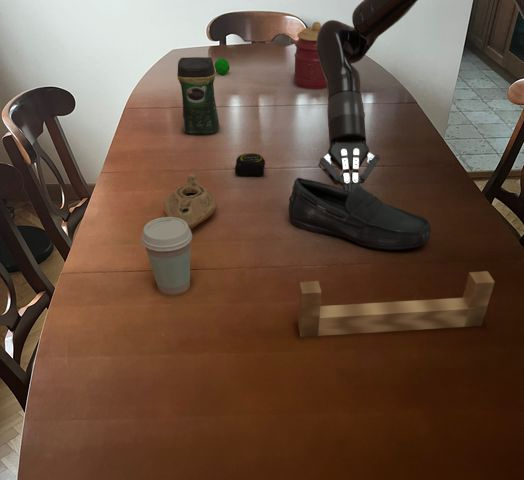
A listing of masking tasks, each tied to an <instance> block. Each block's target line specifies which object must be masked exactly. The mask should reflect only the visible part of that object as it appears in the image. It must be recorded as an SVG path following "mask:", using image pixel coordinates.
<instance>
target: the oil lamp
mask: <svg viewBox="0 0 524 480" xmlns="http://www.w3.org/2000/svg"><path fill="white" fill-rule="evenodd" d="M163 209H164V213H165V215H166V217H176V218H180V219H182V220H184V221H185V222H186V223H187V225H188V227H189V228H190V230H192V229H194V228H195V227H196V226H197V225H199V224H202V223H203V222H205V221H206V220H207V219H208V218H210V217H211V216H212V215H213V214H214V212H215V211H216V209H217V198H216V196H215V194H213V193H212V192H211V191H210V190H208V189H207V188H205V186H202V184H201V182H200V179H199V177H198V175H197V174H196V173H190V174H188V175H187V183H186V184H183V185H180V186H179V187H177V188H176V189H175V190H174V191H172V192H171V194H169V195H168V196H167V197H166V198H165V200H164V202H163Z"/></svg>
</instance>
